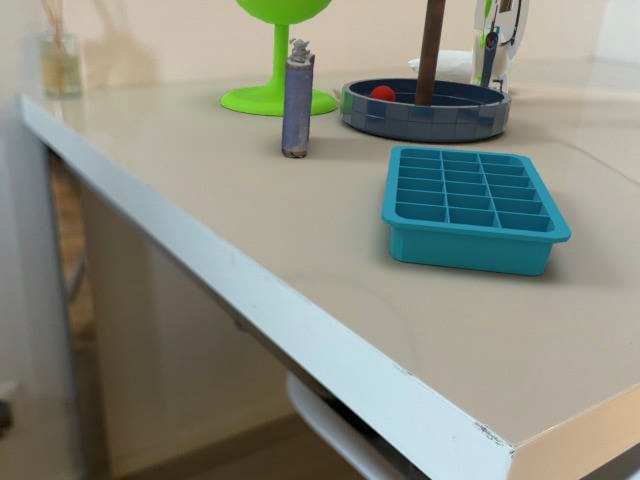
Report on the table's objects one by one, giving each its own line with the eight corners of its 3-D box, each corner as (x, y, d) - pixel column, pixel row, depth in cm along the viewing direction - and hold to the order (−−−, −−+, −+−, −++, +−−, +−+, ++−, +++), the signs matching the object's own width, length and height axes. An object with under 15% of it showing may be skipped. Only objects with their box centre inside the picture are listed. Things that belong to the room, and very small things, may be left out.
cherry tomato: (400, 87, 84) (376, 77, 84) (399, 98, 81) (375, 88, 81) (389, 108, 86) (366, 99, 86) (388, 120, 84) (364, 110, 83)
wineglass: (241, 118, 81) (243, -46, 73) (207, 95, 95) (205, -46, 87) (358, 112, 86) (371, -42, 78) (309, 91, 100) (317, -43, 92)
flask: (306, 158, 66) (312, 44, 61) (277, 157, 66) (281, 43, 61) (310, 137, 74) (316, 35, 69) (284, 135, 74) (288, 34, 70)
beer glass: (465, 95, 100) (482, -14, 93) (513, 100, 97) (535, -12, 90) (456, 103, 94) (474, -13, 87) (507, 108, 91) (530, -11, 85)
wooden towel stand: (436, 115, 83) (454, -9, 77) (446, 124, 78) (466, -7, 72) (396, 114, 83) (411, -10, 77) (404, 123, 78) (420, -8, 72)
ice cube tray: (520, 188, 59) (527, 155, 57) (564, 285, 41) (576, 240, 40) (388, 176, 61) (391, 144, 60) (375, 264, 43) (380, 220, 42)
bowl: (476, 110, 90) (481, 79, 88) (530, 146, 72) (537, 109, 71) (332, 106, 90) (334, 76, 88) (351, 142, 72) (354, 105, 70)
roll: (407, 81, 110) (411, 45, 108) (482, 86, 107) (488, 50, 105) (403, 87, 105) (408, 49, 103) (482, 92, 102) (489, 54, 100)
